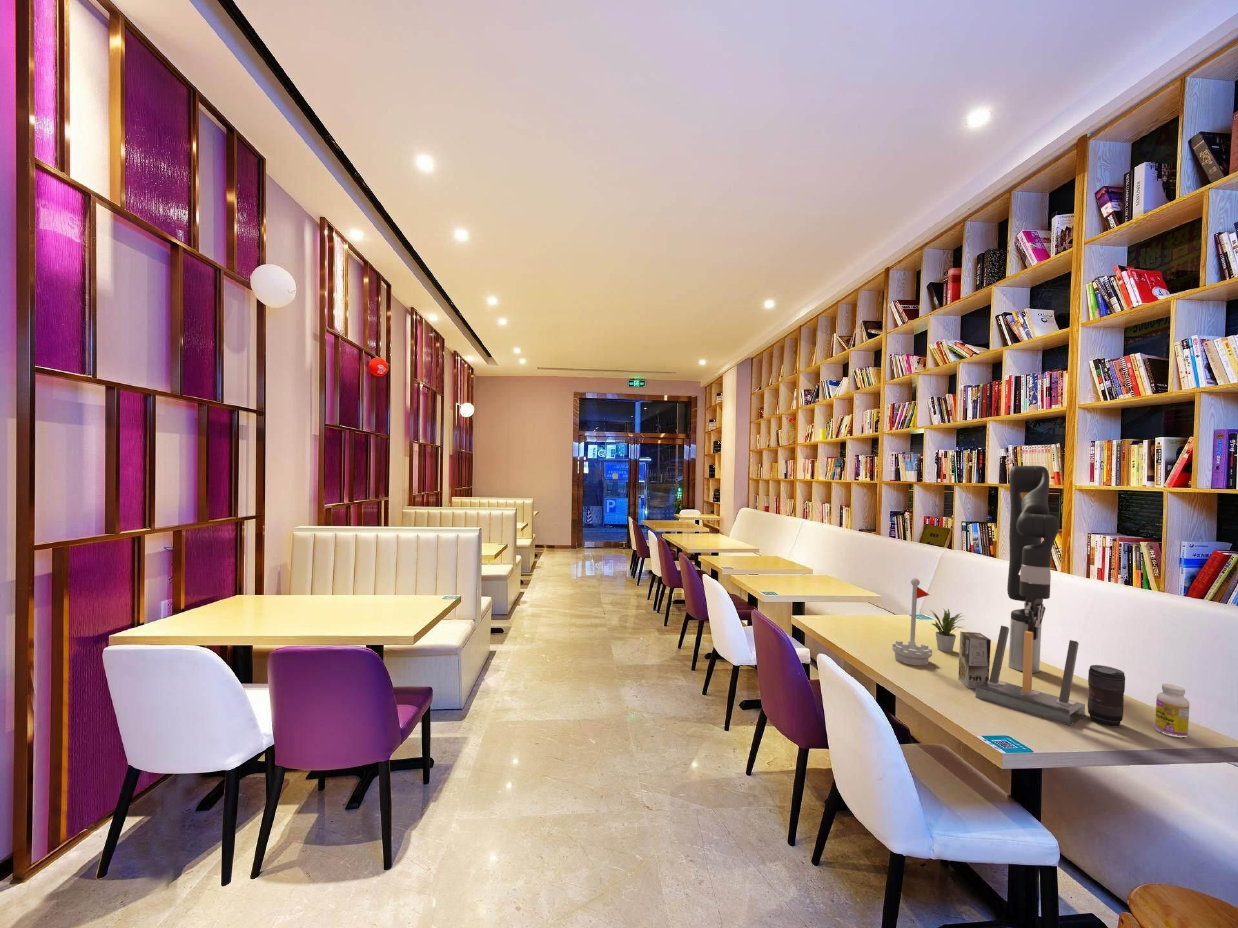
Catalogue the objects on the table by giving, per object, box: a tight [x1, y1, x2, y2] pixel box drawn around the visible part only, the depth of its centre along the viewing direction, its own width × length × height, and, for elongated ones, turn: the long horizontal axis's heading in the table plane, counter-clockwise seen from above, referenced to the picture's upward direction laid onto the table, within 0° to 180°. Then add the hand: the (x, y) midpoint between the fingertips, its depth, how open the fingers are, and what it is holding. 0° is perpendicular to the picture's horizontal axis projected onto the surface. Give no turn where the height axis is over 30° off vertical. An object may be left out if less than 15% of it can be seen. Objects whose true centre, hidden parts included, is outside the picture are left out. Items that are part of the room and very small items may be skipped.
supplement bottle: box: [1154, 683, 1190, 737], centre depth 165 cm, size 7×7×13 cm
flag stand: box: [891, 577, 933, 666], centre depth 221 cm, size 13×13×30 cm
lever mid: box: [1021, 631, 1033, 697], centre depth 179 cm, size 2×3×19 cm, turn 39°
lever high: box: [1057, 639, 1079, 708], centre depth 175 cm, size 2×3×19 cm, turn 40°
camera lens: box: [1087, 664, 1126, 728], centre depth 171 cm, size 8×8×15 cm
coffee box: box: [958, 631, 992, 690], centre depth 197 cm, size 9×6×16 cm
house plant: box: [929, 608, 964, 653], centre depth 236 cm, size 14×14×16 cm
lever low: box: [987, 625, 1010, 688], centre depth 189 cm, size 2×3×19 cm, turn 40°
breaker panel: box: [975, 680, 1086, 726], centre depth 181 cm, size 14×24×4 cm, turn 39°
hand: (1032, 638), depth 181 cm, fingers closed
